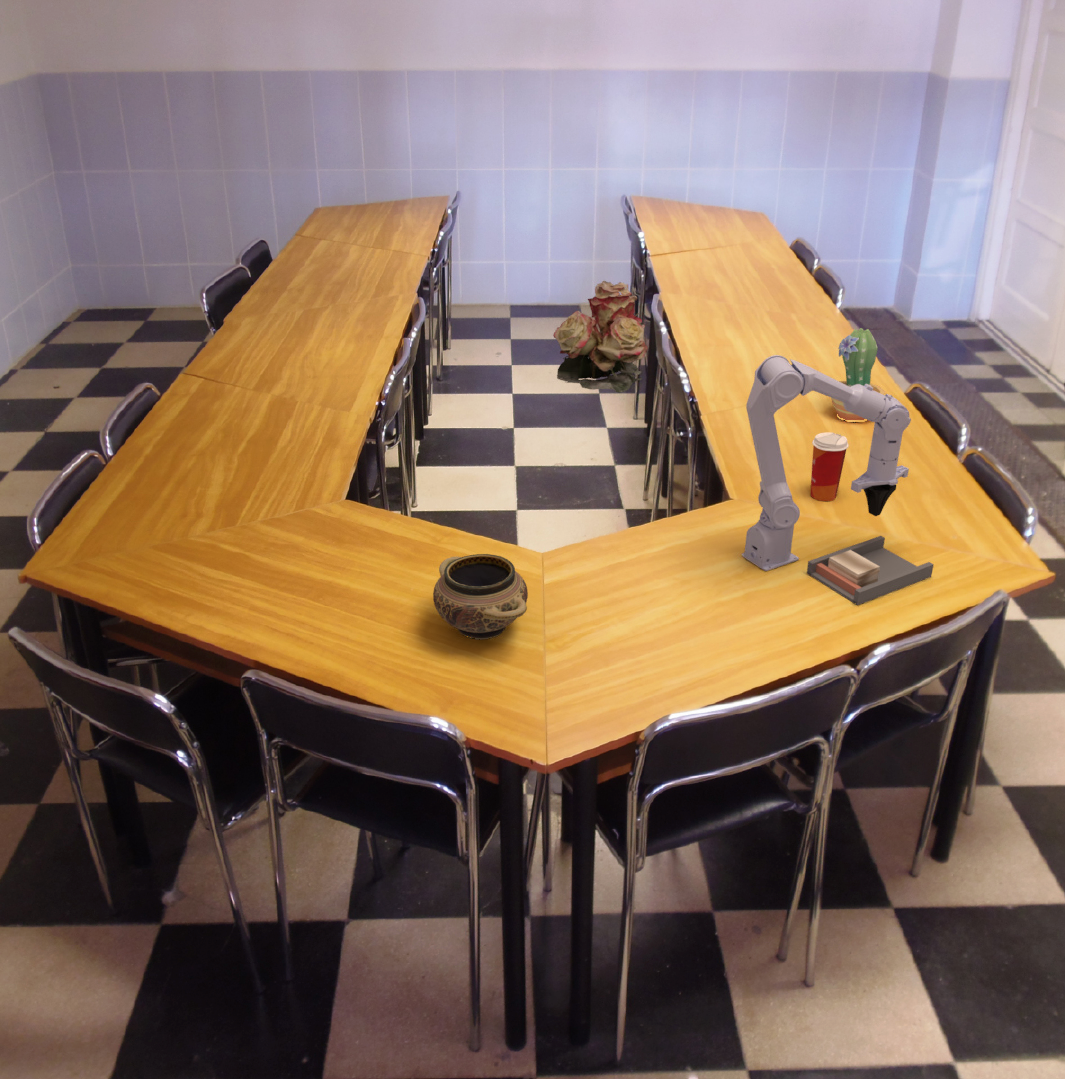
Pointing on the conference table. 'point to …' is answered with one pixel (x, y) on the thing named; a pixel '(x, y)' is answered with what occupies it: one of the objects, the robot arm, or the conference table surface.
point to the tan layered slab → (854, 568)
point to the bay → (890, 576)
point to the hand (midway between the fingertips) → (874, 513)
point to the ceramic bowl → (480, 594)
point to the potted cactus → (857, 365)
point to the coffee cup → (827, 465)
